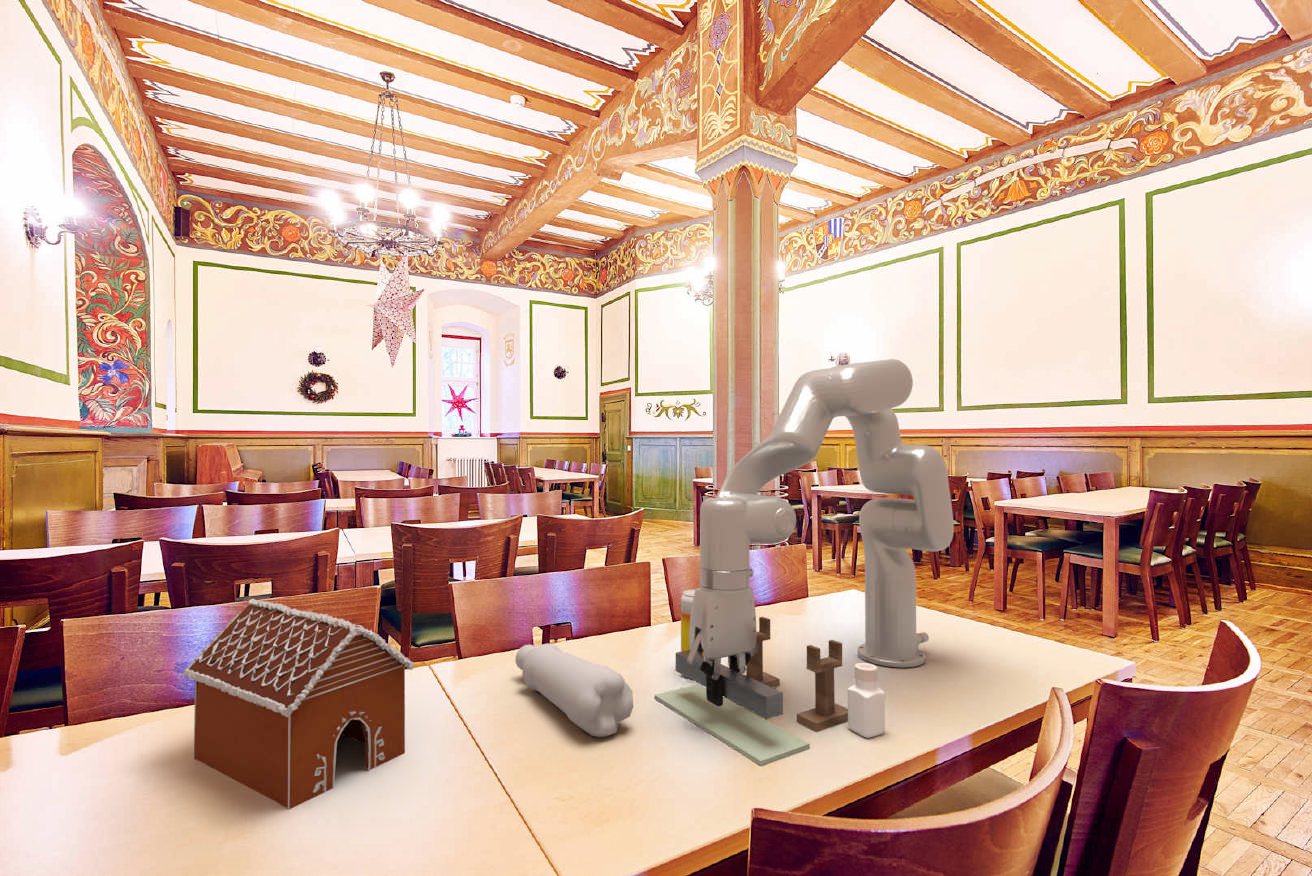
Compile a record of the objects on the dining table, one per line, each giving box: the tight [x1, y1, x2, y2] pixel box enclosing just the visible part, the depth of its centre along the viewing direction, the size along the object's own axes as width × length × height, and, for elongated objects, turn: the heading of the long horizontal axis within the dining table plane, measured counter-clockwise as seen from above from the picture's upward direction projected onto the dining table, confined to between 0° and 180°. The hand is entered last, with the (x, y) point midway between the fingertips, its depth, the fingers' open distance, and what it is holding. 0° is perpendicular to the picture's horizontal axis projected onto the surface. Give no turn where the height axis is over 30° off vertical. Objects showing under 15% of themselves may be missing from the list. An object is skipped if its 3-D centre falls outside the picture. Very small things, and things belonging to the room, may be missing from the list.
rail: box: [675, 650, 784, 720], centre depth 94 cm, size 22×3×3 cm, turn 32°
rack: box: [745, 616, 848, 732], centre depth 101 cm, size 8×20×12 cm, turn 32°
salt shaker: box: [847, 662, 886, 739], centre depth 91 cm, size 4×4×10 cm
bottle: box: [515, 642, 634, 738], centre depth 101 cm, size 9×9×30 cm
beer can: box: [680, 589, 704, 680], centre depth 114 cm, size 6×6×15 cm
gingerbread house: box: [182, 598, 415, 810], centre depth 84 cm, size 18×26×20 cm
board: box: [654, 683, 811, 766], centre depth 94 cm, size 9×26×1 cm, turn 32°
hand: (724, 699), depth 94 cm, fingers closed on rail, 3 cm apart
